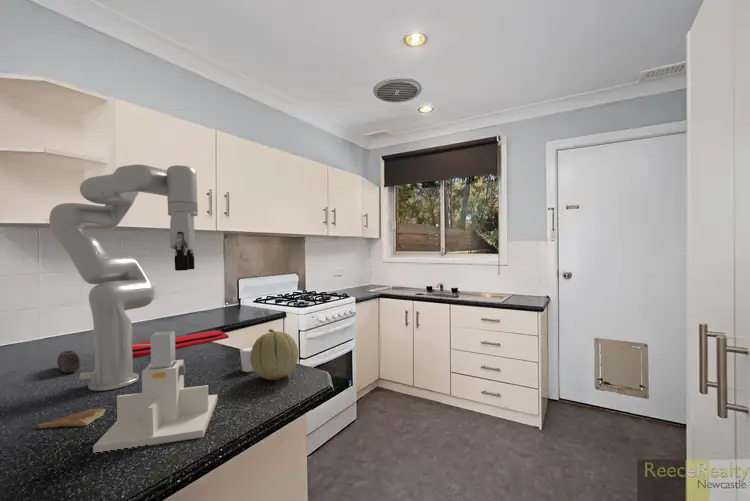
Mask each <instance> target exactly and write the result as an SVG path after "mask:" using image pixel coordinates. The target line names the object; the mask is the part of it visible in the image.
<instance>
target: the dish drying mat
mask: <svg viewBox="0 0 750 501" xmlns="http://www.w3.org/2000/svg"><path fill="white" fill-rule="evenodd" d="M228 338H229V335H228V334H227V333H224V331H222V330H206V331H201V332H195V333H189V334H185V335H177V336H175V350H178V349H183V348H188V347H193V346H198V345H203V344H206V343H211V342H216V341H221V340H226V339H228ZM132 354H133V358H139V357H144V356H151V340H146V341H140V342H135V343H133V342H132Z"/></svg>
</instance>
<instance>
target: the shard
mask: <svg viewBox="0 0 750 501" xmlns="http://www.w3.org/2000/svg"><path fill="white" fill-rule="evenodd" d="M105 412H106V409H105V408H97V409H95V408H93V409H92V408H91V409H86V410H85V409H84V410H81V411H78V412H74V413H70V414H67V415H63V416H60V417H57V418H53V419H51V420H46V421H43V422H39V423H36V426H38V427H39V429H47V427H49V428H58V427H59V426H62V427H85V426H84V425H86V426H88V425H89V424H91V423H93V422H94V421H95V420H97V419H98V418H100V417H102V416H104V414H105ZM59 428H60V427H59Z"/></svg>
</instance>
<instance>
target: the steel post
mask: <svg viewBox="0 0 750 501" xmlns="http://www.w3.org/2000/svg"><path fill="white" fill-rule="evenodd" d="M175 337H176V331H175V330H169V331H156V332H154V333H153V334H151V335H150V338H149V339H150V341H151V354H150V364H151V369H160V368H170V367H173V366H174V365H175V364H176V363H175V360H176V349H175Z"/></svg>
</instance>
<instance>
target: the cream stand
mask: <svg viewBox="0 0 750 501" xmlns="http://www.w3.org/2000/svg"><path fill="white" fill-rule="evenodd" d="M175 363H176V364H175V365H174V366H173V367H170V368H160V369H151V363H149V365H147V366H146V368H144V369H143V370H142V371H141V392H137V393H129V394H120V395H117V396H116V414H117V415H116V416H117V417H116V419H117V421H116V422H115V423H113V425H112V426H110V427H109V429H108V430H107V431H106V432H105V433H104V434H103V435H102V436H101V437H100V438H99V439H98V440H97V441H96V443H95V444H94V445H93V446H92V452H93V453H95V452H101V453H104V452H103V451H108V452H111V451H110V450H115V451H118V450H117V449H121V450H125V449H124V448H128V449H133V448H132V447H134V448H139V447H138V446H141V447H146V446H145V445H148V446H154V445H160V444H166V443H173V442H179V441H186V440H193V439H200V438H203V437H205V433H206V430H207V428H208V426H209V423H210V421H211V418H212V415H213V412H214V411H215V407H216V405H217V404H218V403H217V402H218V399H219V398H218V394H210V395H209V385H208V384H207V385H206V384H205V385H200V386H188V387H185V380H184V379H185V377H184V376H185V375H186V364H184V359H177V360H176V359H175ZM93 453H92V454H93ZM95 454H96V453H95Z"/></svg>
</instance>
